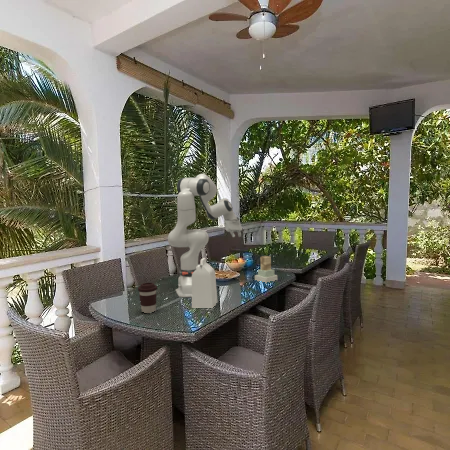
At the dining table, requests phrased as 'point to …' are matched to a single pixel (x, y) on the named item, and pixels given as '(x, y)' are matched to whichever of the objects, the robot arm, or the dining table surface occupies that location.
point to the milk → (204, 286)
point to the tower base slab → (265, 278)
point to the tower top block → (266, 273)
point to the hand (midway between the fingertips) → (237, 236)
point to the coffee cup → (147, 297)
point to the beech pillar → (265, 263)
